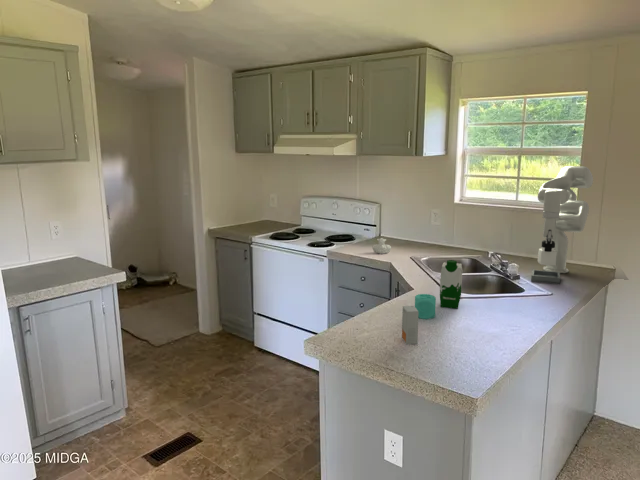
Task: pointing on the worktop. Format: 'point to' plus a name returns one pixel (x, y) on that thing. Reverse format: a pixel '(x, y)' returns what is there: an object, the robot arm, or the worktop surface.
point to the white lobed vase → (381, 247)
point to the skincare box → (410, 325)
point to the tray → (545, 276)
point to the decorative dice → (425, 306)
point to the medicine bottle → (547, 255)
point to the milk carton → (450, 284)
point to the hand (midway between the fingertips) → (547, 249)
